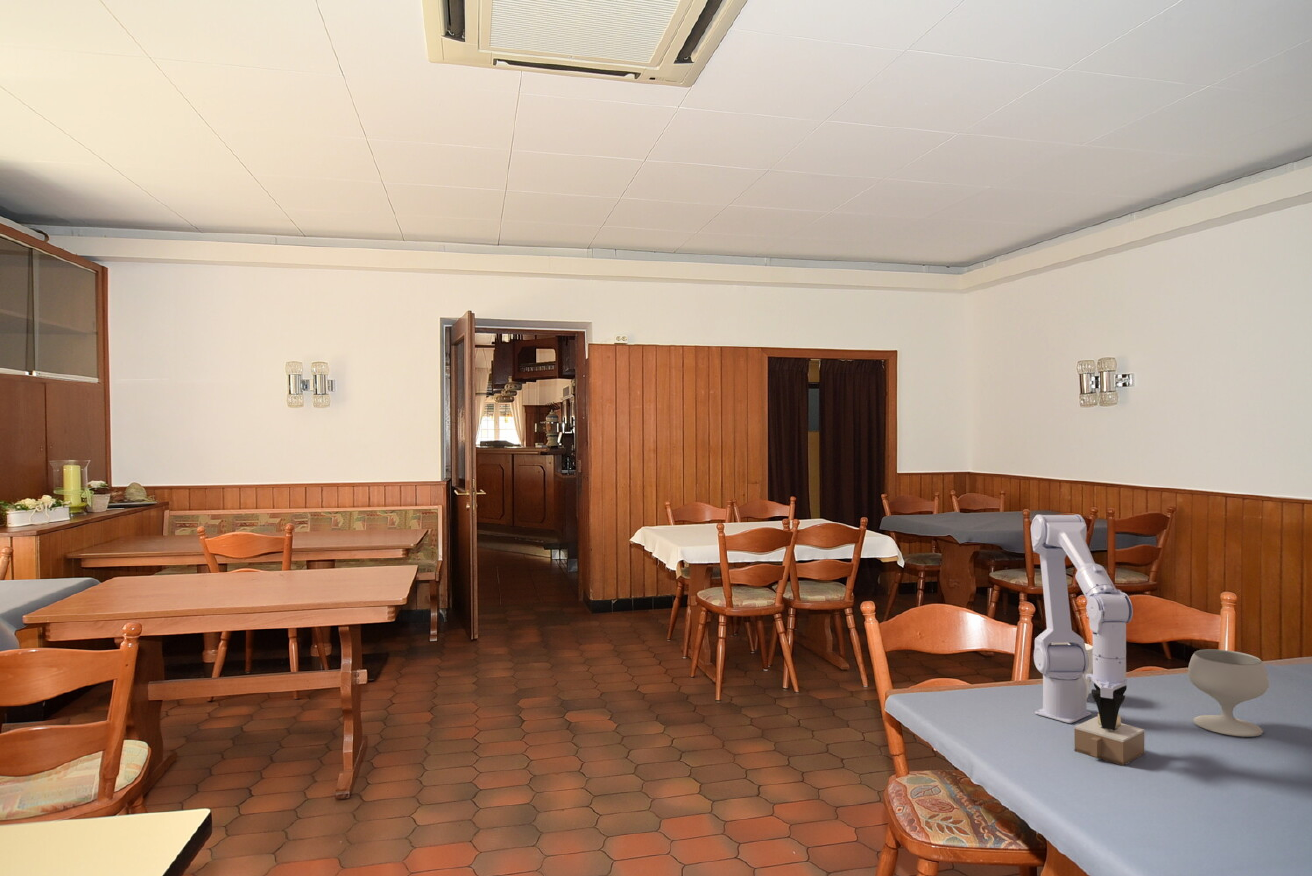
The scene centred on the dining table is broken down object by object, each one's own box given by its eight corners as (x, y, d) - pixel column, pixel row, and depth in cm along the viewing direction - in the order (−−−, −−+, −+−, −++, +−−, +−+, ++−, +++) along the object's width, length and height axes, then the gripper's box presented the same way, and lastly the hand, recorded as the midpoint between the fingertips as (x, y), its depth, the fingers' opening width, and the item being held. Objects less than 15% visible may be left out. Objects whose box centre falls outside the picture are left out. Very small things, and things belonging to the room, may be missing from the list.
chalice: (1272, 745, 163) (1272, 669, 162) (1188, 732, 170) (1188, 659, 170) (1265, 723, 174) (1265, 653, 174) (1187, 712, 182) (1187, 644, 182)
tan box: (1096, 740, 166) (1096, 716, 166) (1144, 754, 159) (1144, 729, 159) (1070, 753, 159) (1069, 728, 159) (1118, 768, 152) (1118, 742, 152)
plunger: (1103, 742, 162) (1103, 710, 162) (1124, 748, 159) (1124, 715, 159) (1093, 747, 160) (1093, 714, 160) (1115, 753, 157) (1115, 720, 157)
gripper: (1089, 644, 168) (1089, 710, 168) (1082, 661, 155) (1082, 732, 156) (1128, 648, 164) (1129, 716, 164) (1125, 666, 152) (1125, 739, 152)
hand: (1109, 724), depth 160 cm, fingers closed on plunger, 4 cm apart
